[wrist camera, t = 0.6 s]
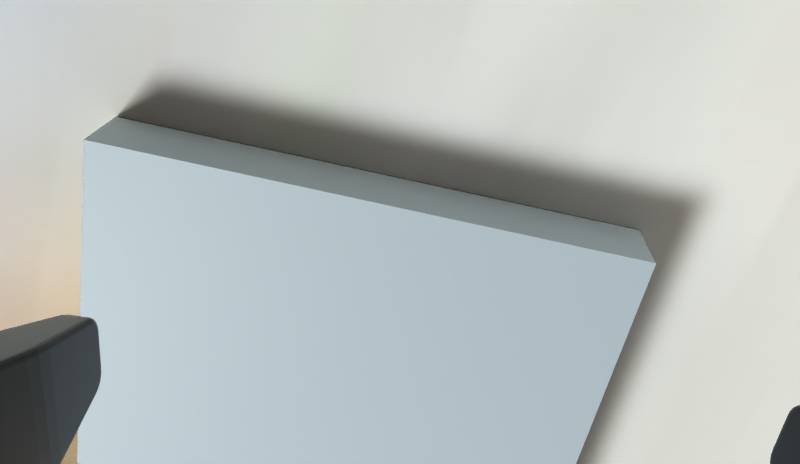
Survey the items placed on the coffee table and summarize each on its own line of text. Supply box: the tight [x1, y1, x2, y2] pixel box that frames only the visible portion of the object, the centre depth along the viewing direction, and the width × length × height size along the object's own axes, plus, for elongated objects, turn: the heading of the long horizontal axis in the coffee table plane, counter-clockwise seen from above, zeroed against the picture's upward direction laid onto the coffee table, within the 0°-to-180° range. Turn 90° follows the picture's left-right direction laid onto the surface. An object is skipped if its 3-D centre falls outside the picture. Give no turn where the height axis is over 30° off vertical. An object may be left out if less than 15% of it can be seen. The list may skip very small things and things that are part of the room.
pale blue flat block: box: [77, 117, 656, 464], centre depth 23 cm, size 15×11×2 cm
